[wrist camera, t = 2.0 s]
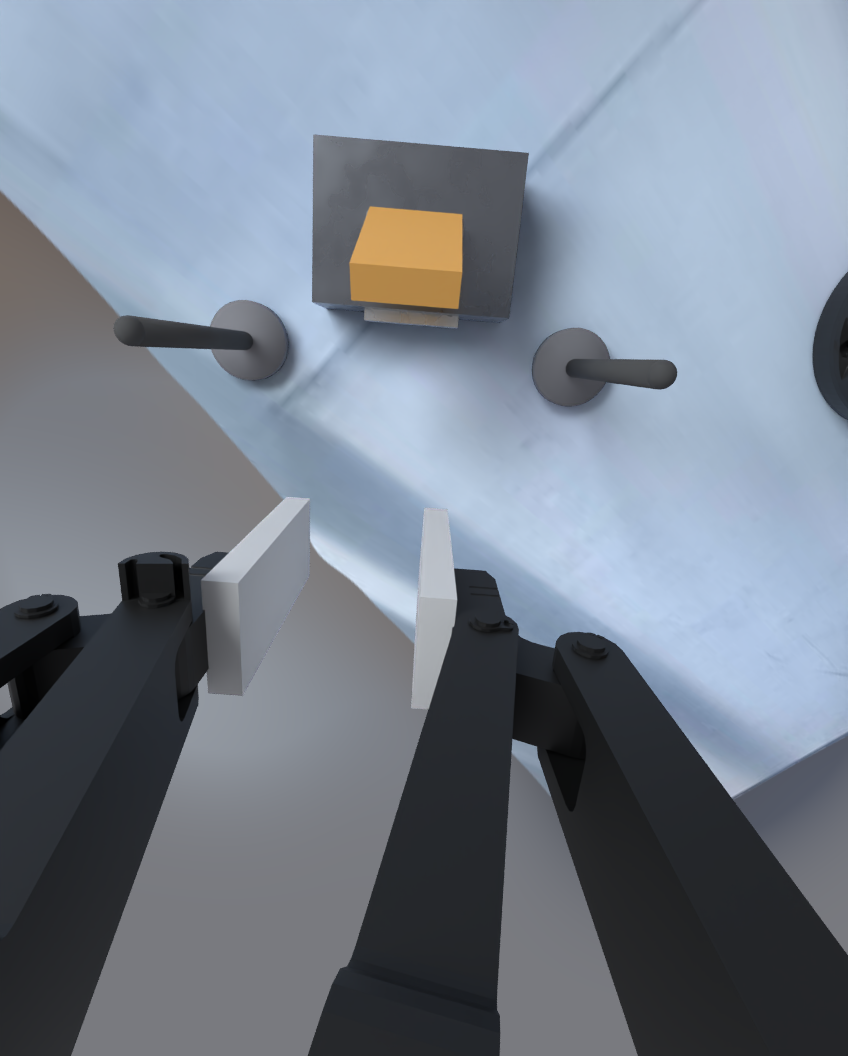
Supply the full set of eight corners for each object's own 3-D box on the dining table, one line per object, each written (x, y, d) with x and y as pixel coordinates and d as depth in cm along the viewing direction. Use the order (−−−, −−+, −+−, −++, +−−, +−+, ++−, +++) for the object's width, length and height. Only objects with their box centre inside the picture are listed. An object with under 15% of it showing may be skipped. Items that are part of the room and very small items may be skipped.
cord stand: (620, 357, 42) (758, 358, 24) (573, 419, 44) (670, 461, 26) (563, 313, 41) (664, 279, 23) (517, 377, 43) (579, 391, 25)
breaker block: (498, 333, 42) (507, 330, 37) (325, 319, 41) (312, 314, 37) (516, 178, 38) (528, 153, 33) (328, 162, 38) (313, 134, 33)
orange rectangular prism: (461, 243, 35) (461, 309, 29) (368, 235, 35) (347, 299, 29) (465, 210, 34) (466, 272, 27) (368, 202, 34) (345, 262, 27)
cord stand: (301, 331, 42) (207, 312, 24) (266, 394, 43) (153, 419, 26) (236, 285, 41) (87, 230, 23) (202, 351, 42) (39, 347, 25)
